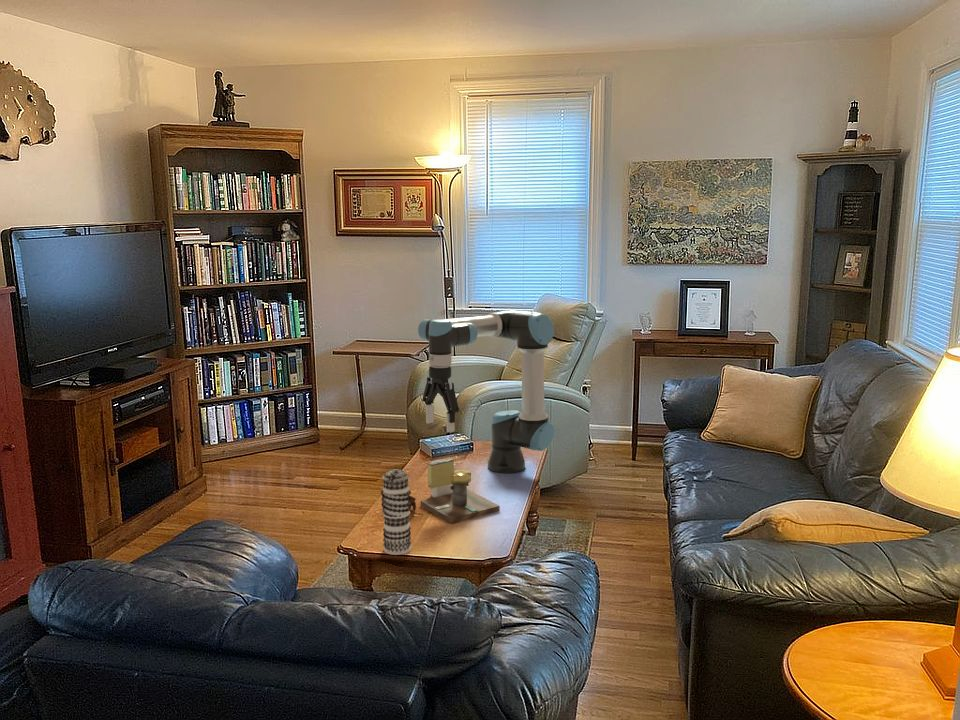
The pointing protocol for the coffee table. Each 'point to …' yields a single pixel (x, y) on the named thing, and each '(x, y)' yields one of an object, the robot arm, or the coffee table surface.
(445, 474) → the cap
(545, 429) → the robot arm
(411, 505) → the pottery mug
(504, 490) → the coffee table surface
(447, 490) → the candle holder
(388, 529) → the decorative candle
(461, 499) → the post plinth
